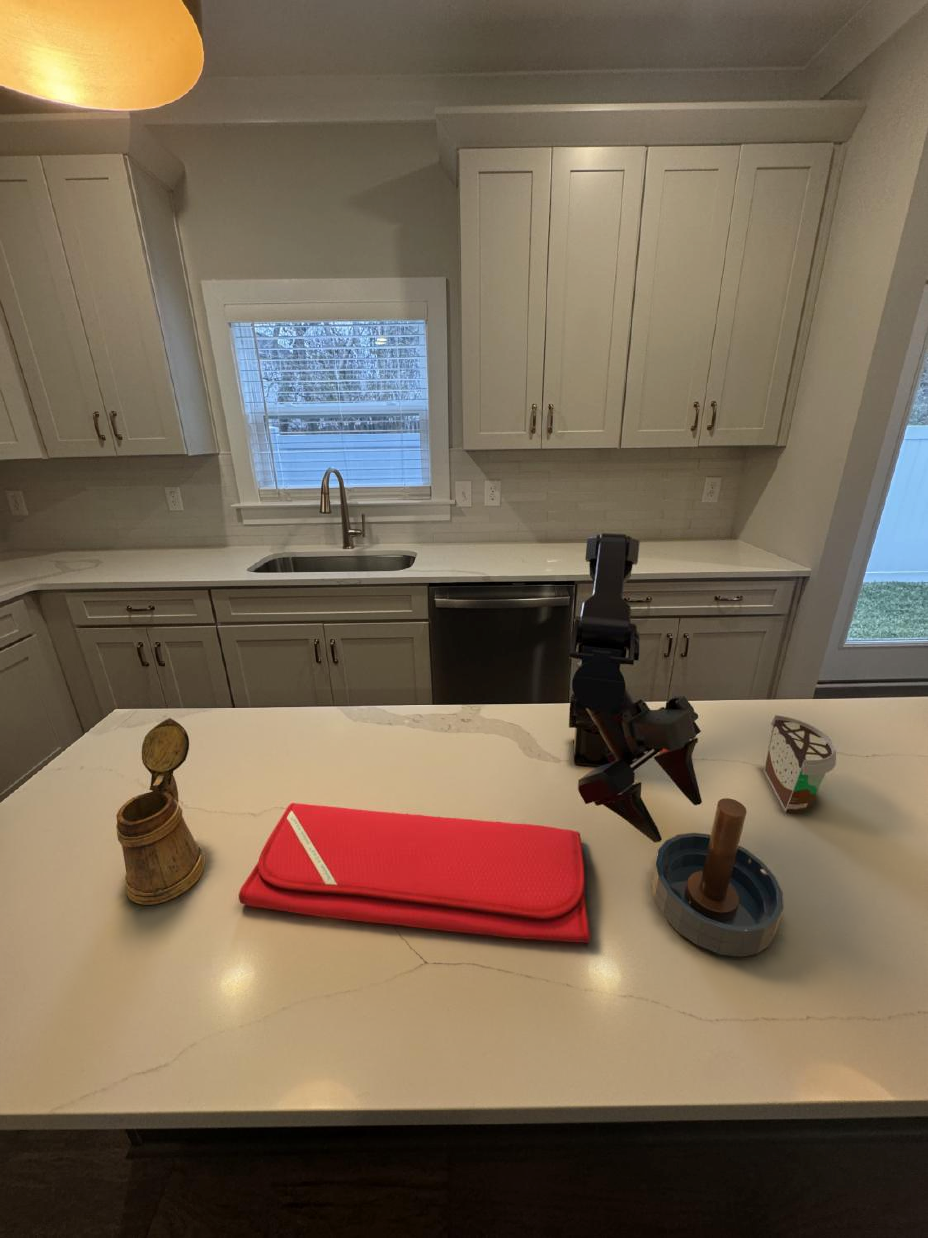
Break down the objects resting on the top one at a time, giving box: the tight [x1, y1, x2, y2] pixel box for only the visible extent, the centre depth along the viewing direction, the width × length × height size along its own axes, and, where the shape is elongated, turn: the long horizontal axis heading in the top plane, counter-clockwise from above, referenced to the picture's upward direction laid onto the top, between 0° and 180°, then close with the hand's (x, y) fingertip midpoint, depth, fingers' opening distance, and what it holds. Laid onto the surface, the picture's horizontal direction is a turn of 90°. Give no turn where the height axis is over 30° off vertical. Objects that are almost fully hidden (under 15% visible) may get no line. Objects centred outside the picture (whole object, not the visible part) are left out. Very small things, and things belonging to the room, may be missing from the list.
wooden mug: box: [115, 717, 206, 906], centre depth 64 cm, size 9×14×18 cm, turn 1°
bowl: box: [651, 832, 784, 958], centre depth 59 cm, size 13×13×4 cm
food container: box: [763, 714, 837, 814], centre depth 75 cm, size 12×6×10 cm, turn 168°
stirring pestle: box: [685, 797, 747, 921], centre depth 57 cm, size 6×6×14 cm
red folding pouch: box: [238, 802, 591, 944], centre depth 64 cm, size 16×41×4 cm, turn 83°
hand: (679, 822), depth 61 cm, fingers open, 9 cm apart
